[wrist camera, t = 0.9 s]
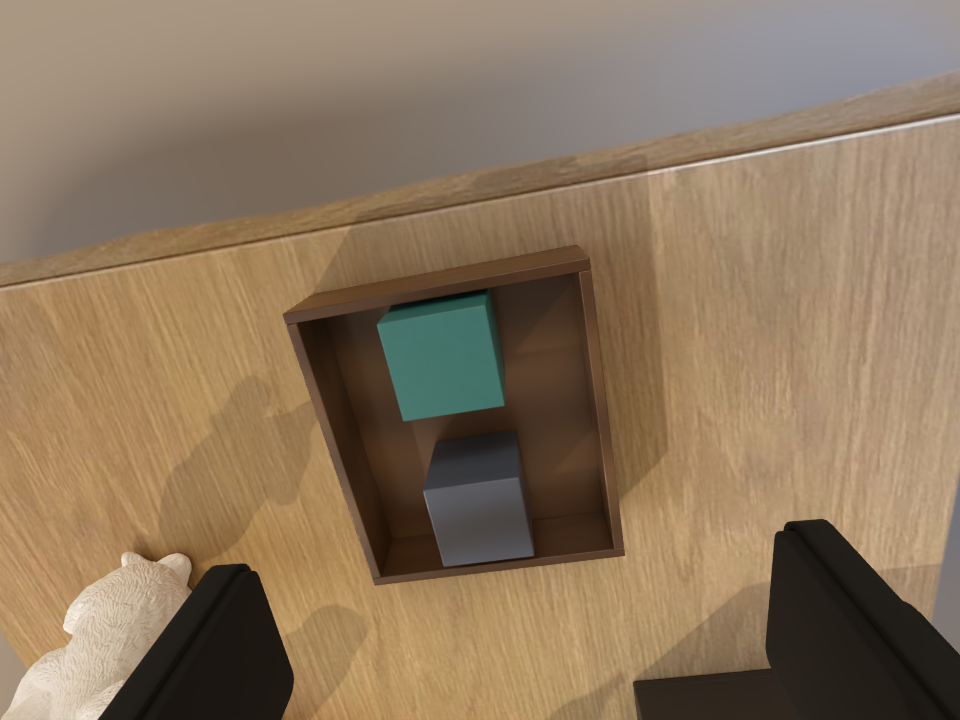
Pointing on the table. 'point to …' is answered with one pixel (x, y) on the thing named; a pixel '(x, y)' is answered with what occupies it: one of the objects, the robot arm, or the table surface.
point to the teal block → (444, 354)
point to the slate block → (479, 499)
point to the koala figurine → (104, 640)
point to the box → (469, 412)
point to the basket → (714, 698)
